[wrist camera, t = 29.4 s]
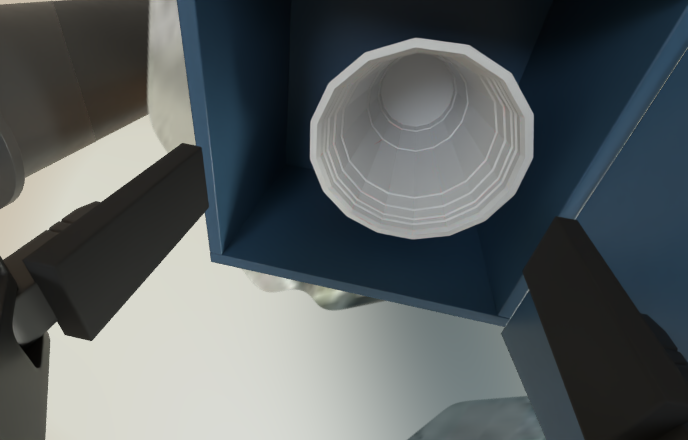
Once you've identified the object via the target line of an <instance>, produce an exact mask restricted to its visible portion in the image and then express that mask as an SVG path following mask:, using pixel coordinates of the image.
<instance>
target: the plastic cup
mask: <svg viewBox="0 0 688 440" xmlns="http://www.w3.org/2000/svg"><path fill="white" fill-rule="evenodd" d="M533 139H534V114H533V112H532V110H531V109H530V107H529V105H528V103H527V101H526V99H525V97H524V95H523V94H522V92H521V90H520V88H519V86H518V84H517V82H516V81H515V79H514V77H513V75H512V73H510V72H509V71H507V70H506V69H504V68H503V67H501V66H500V65H498V64H497V63H495V62H494V61H492V60H491V59H489V58H488V57H486V56H485V55H483V54H482V53H480V52H479V51H477V50H476V49H474V48H473V47H471V46H470V45H466V44H458V43H451V42H444V41H436V40H429V39H422V38H413V39H409V40H406V41H402V42H399V43H396V44H392V45H389V46H385V47H382V48H379V49H375V50H372V51H368V52H365V53H364V54H363V55H361V56H360V57H359V58H358V59H357V60H356V61H354V62H353V63H352V64H351V65H350V66H348V67H347V68H346V69H345V70H344V71H342V72H341V73H340V74H339V75H338V76H337V77H335V78H334V79H333V80H332V81H331V82H329V83H328V85H327V88H326V90H325V92H324V94H323V96H322V98H321V100H320V102H319V104H318V106H317V109H316V111H315V113H314V115H313V117H312V119H311V121H310V160H311V163H312V165H313V168H314V170H315V173H316V175H317V178H318V180H319V182H320V185H321V187H322V190H323V192H324V193H325V194H326V195H327V196H328V197H329V198H330V199H331V200H332V201H333V202H334V203H335V204H336V205H337V207H338V208H339V209H340V210H341V211H342V212H343V213H344V214H345V215H346V216H347V217H349V218H351V219H353V220H355V221H356V222H358V223H360V224H362V225H364V226H366V227H368V228H370V229H371V230H373V231H375V232H377V233H382V234H387V235H392V236H397V237H402V238H408V239H422V238H432V237H443V236H450V235H453V234H455V233H458V232H460V231H462V230H465V229H467V228H470V227H472V226H474V225H477V224H479V223H481V222H484V221H486V220H487V219H488V218H489V217H490V216H491V215H492V214H494V213H495V212H496V211H497V210H498V209H499V208H500V207H501V206H503V205H504V204H505V203H506V202H507V201H508V200H509V199H511V198H512V197H513V196H514V195H515V194H516V192H517V190H518V188H519V185H520V183H521V181H522V179H523V177H524V175H525V173H526V171H527V169H528V167H529V165H530V163H531V161H532V159H533Z"/></svg>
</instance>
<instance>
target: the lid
mask: <svg viewBox="0 0 688 440" xmlns="http://www.w3.org/2000/svg"><path fill="white" fill-rule="evenodd" d="M576 220H578V222H579V223H580V225H581V226H582V228H583V229H584V231H585V232H586V234H587V235H588V237H589V238H590V240H591V241H592V242H593V244H594V245H595V247H596V248H597V250H598V251H599V253H600V254H601V256H602V257H603V259H604V260H605V262H606V263H607V265H608V266H609V268H610V269H611V271H612V272H613V274H614V275H615V277H616V278H617V280H618V281H619V283H620V284H621V286H622V287H623V289H624V290H625V291H626V293H627V294H628V296H629V297H630V299H631V300H632V302H633V303H634V305H635V306H636V308H637V309H638V311H639V312H640V313H642V314H647V315H648V316H649V317H650V318H652V319H653V320H654V321H655V322H656V323H657V324H658V325H659V326H660V327H661V328H663V329H664V330H665V331H666V333H667V334H668V335H669V337H670V338H671V340H672V341H673V343H674V344H675V345H676V347H677V348H678V349H677V351H678V352H681V354H682V355H683V357H684V358H685V359H686V361H687V362H688V48H687V50H686V51H685V53H684V55H683V56H682V58H681V59H680V61H679V62H678V64H677V65H676V67H675V68H674V70H673V71H672V73H671V74H670V76H669V77H668V79H667V81H666V82H665V84H664V85H663V87H662V88H661V90H660V91H659V93H658V94H657V96H656V97H655V99H654V100H653V102H652V103H651V105H650V106H649V108H648V110H647V111H646V113H645V114H644V116H643V117H642V119H641V120H640V122H639V123H638V125H637V126H636V128H635V129H634V131H633V132H632V134H631V136H630V137H629V139H628V140H627V142H626V143H625V145H624V146H623V148H622V149H621V151H620V152H619V154H618V155H617V157H616V158H615V160H614V161H613V163H612V165H611V166H610V168H609V169H608V171H607V172H606V174H605V175H604V177H603V178H602V180H601V181H600V183H599V184H598V186H597V187H596V189H595V190H594V192H593V194H592V195H591V197H590V198H589V200H588V201H587V203H586V204H585V206H584V207H583V209H582V210H581V212H580V213H579V215H578V216H577V218H576ZM501 334H502V337H503V339H504V341H505V344H506V346H507V348H508V351H509V353H510V356H511V358H512V360H513V362H514V365H515V367H516V369H517V372H518V374H519V377H520V379H521V381H522V384H523V386H524V388H525V391H526V393H527V395H528V398H529V400H530V402H531V405H532V407H533V409H534V412H535V414H536V417H537V419H538V421H539V424H540V426H541V428H542V431H543V433H544V435H545V438H546V440H584V437H583V434H582V432H581V429H580V426H579V424H578V421H577V418H576V415H575V413H574V410H573V407H572V405H571V402H570V399H569V397H568V394H567V391H566V388H565V386H564V383H563V380H562V378H561V375H560V372H559V370H558V367H557V364H556V361H555V359H554V356H553V353H552V351H551V348H550V345H549V343H548V340H547V337H546V334H545V332H544V329H543V326H542V324H541V321H540V318H539V316H538V313H537V310H536V307H535V305H534V302H533V299H532V297H531V294H530V291H528V293H527V294H526V296H525V297H524V299H523V300H522V302H521V304H520V305H519V307H518V308H517V310H516V311H515V313H514V314H513V316H512V317H511V319H510V320H509V322H508V323H507V325H506V326H505V328H504V330H503V331H502V333H501Z"/></svg>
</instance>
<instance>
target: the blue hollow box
mask: <svg viewBox="0 0 688 440" xmlns="http://www.w3.org/2000/svg"><path fill="white" fill-rule="evenodd" d="M177 5H178V13H179V21H180V28H181V36H182V43H183V51H184V58H185V66H186V73H187V81H188V89H189V96H190V104H191V111H192V119H193V126H194V134H195V141H196V146H200V147H202V153H203V161H204V169H205V177H206V186H207V194H208V202H209V208H208V209H207V210H206V211H205V217H206V224H207V231H208V240H209V247H210V256H211V262H215V263H219V264H224V265H229V266H233V267H237V268H242V269H246V270H251V271H255V272H260V273H264V274H269V275H273V276H278V277H282V278H287V279H291V280H296V281H300V282H305V283H309V284H314V285H318V286H323V287H327V288H332V289H336V290H341V291H345V292H350V293H354V294H359V295H363V296H368V297H372V298H377V299H381V300H386V301H390V302H395V303H400V304H404V305H408V306H413V307H417V308H422V309H427V310H431V311H436V312H440V313H444V314H449V315H453V316H458V317H462V318H467V319H472V320H476V321H481V322H485V323H489V324H494V325H498V326H503V327H505V326H506V325H507V323H508V322H509V320H510V318H511V317H512V315H513V314H514V312H515V311H516V309H517V308H518V306H519V305H520V303H521V302H522V300H523V298H524V297H525V295H526V294H527V292H528V291H529V289H528V286H527V283H526V281H525V278H524V275H523V272H522V270H523V269H524V267H525V266H526V264H527V262H528V261H529V259H530V257H531V256H532V254H533V252H534V251H535V249H536V247H537V246H538V244H539V242H540V241H541V239H542V238H543V236H544V234H545V233H546V231H547V229H548V228H549V226H550V224H551V223H552V221H553V219H554V218H555V216H558V217H563V218H568V219H574V220H575V219H576V217H577V216H578V214H579V213H580V211H581V210H582V208H583V207H584V205H585V204H586V202H587V201H588V199H589V198H590V196H591V194H592V193H593V191H594V190H595V188H596V187H597V185H598V184H599V182H600V181H601V179H602V178H603V176H604V175H605V173H606V172H607V170H608V168H609V167H610V165H611V164H612V162H613V161H614V159H615V158H616V156H617V155H618V153H619V152H620V150H621V149H622V147H623V146H624V144H625V142H626V141H627V139H628V138H629V136H630V135H631V133H632V132H633V130H634V129H635V127H636V126H637V124H638V123H639V121H640V120H641V118H642V117H643V115H644V113H645V112H646V110H647V109H648V107H649V106H650V104H651V103H652V101H653V100H654V98H655V97H656V95H657V94H658V92H659V91H660V89H661V87H662V86H663V84H664V83H665V81H666V80H667V78H668V77H669V75H670V74H671V72H672V71H673V69H674V68H675V66H676V65H677V63H678V61H679V60H680V58H681V57H682V55H683V54H684V52H685V51H686V49H687V48H688V0H177ZM413 38H422V39H429V40H436V41H444V42H451V43H458V44H466V45H470V46H471V47H473V48H474V49H476V50H477V51H479V52H480V53H482V54H483V55H485V56H486V57H488V58H489V59H491V60H492V61H494V62H495V63H497V64H498V65H500V66H501V67H503V68H504V69H506V70H507V71H509V72H510V73H512V75H513V77H514V79H515V81H516V82H517V84H518V86H519V88H520V90H521V92H522V94H523V95H524V97H525V99H526V101H527V103H528V105H529V107H530V109H531V110H532V112H533V114H534V139H533V159H532V161H531V163H530V165H529V167H528V169H527V171H526V173H525V175H524V177H523V179H522V181H521V183H520V185H519V188H518V190H517V192H516V194H515V195H514V196H513V197H512V198H511V199H509V200H508V201H507V202H506V203H505V204H504V205H503V206H501V207H500V208H499V209H498V210H497V211H496V212H495V213H494V214H492V215H491V216H490V217H489V218H488V219H487V220H486V221H484V222H481V223H479V224H477V225H474V226H472V227H470V228H467V229H465V230H462V231H460V232H458V233H455V234H453V235H450V236H443V237H432V238H422V239H408V238H402V237H397V236H392V235H387V234H382V233H377V232H375V231H373V230H371V229H370V228H368V227H366V226H364V225H362V224H360V223H358V222H356V221H355V220H353V219H351V218H349V217H347V216H346V215H345V214H344V213H343V212H342V211H341V210H340V209H339V208H338V207H337V205H336V204H335V203H334V202H333V201H332V200H331V199H330V198H329V197H328V196H327V195H326V194H325V193H324V192H323V190H322V187H321V185H320V182H319V180H318V178H317V175H316V173H315V170H314V168H313V165H312V163H311V160H310V121H311V119H312V117H313V115H314V113H315V111H316V109H317V106H318V104H319V102H320V100H321V98H322V96H323V94H324V92H325V90H326V88H327V85H328V83H329V82H331V81H332V80H333V79H334V78H335V77H337V76H338V75H339V74H340V73H341V72H342V71H344V70H345V69H346V68H347V67H348V66H350V65H351V64H352V63H353V62H354V61H356V60H357V59H358V58H359V57H360V56H361V55H363V54H364V53H365V52H368V51H372V50H375V49H379V48H382V47H385V46H389V45H392V44H396V43H399V42H402V41H406V40H409V39H413Z"/></svg>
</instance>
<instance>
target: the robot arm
mask: <svg viewBox="0 0 688 440" xmlns="http://www.w3.org/2000/svg"><path fill="white" fill-rule="evenodd" d="M208 208H209V202H208V194H207V186H206V177H205V169H204V161H203V153H202V147H200V146H194V145H189V144H184V143H182V144H180V145H179V146H178V147H176V148H175V149H174V150H172V151H171V152H169V153H168V154H167V155H165V156H164V157H163V158H161V159H160V160H159V161H157V162H156V163H155V164H153V165H152V166H150V167H149V168H147V169H146V170H145V171H143V172H142V173H141V174H139V175H138V176H137V177H135V178H134V179H132V180H131V181H130V182H128V183H127V184H126V185H124V186H123V187H121V188H120V189H119V190H117V191H116V192H115V193H113V194H112V195H110V196H109V197H108V198H106V199H105V200H104V201H102V202H97V201H95V202H93V203H91V204H88V205H86V206H83V207H80V208H78V209H76V210H74V211H73V212H72V213H70V214H69V215H67V216H66V217H64V218H63V219H62V221H61V222H57V223H56V224H54V225H53V226H51V227H50V228H49V230H46V231H44V232H43V233H41V234H40V235H39V236H37V237H36V238H34V239H33V240H31V241H30V242H28V243H27V244H26V245H24V246H23V247H21V248H20V249H18V250H17V251H16V252H14V253H13V254H11V255H10V256H9V257H7V258H5V259H4V260H2V258H1V256H0V440H45V432H46V412H47V411H46V410H47V393H48V373H49V354H50V338H49V334H48V332H47V330H48V329H49V328H50V327H51V326H52V325H54V323H56V322H58V324H59V325H60V327H61V329H62V330H63V332H64V334H65V335H68V336H72V337H76V338H81V339H85V340H90V341H92V340H93V339H94V338H95V337H96V336H97V334H98V333H99V332H100V331H101V330H102V329H103V328H104V326H105V325H106V324H107V323H108V322H109V321H110V320H111V318H112V317H113V316H114V315H115V314H116V313H117V312H118V310H119V309H120V308H121V307H122V306H123V305H124V304H125V303H126V301H127V300H128V299H129V298H130V297H131V295H133V293H134V292H135V291H136V290H137V289H138V287H140V285H141V284H142V283H143V282H144V281H145V280H146V278H147V277H148V276H149V275H150V274H151V273H152V272H153V270H154V269H155V268H156V267H157V266H158V265H159V264H160V263H161V261H162V260H163V259H164V258H165V257H166V256H167V255H168V253H169V252H170V251H171V250H172V249H173V248H174V247H175V246H176V244H177V243H178V242H179V241H180V240H181V238H183V236H184V235H185V234H186V233H187V232H188V230H189V229H190V228H191V227H192V226H193V225H194V224H195V222H197V220H198V219H199V218H200V217H201V216H202V215H203V214H204V212H205V211H206V210H207V209H208ZM522 272H523V275H524V278H525V281H526V283H527V286H528V289H529V291H530V294H531V297H532V299H533V302H534V305H535V307H536V310H537V313H538V316H539V318H540V321H541V324H542V326H543V329H544V332H545V334H546V337H547V340H548V343H549V345H550V348H551V351H552V353H553V356H554V359H555V361H556V364H557V367H558V370H559V372H560V375H561V378H562V380H563V383H564V386H565V388H566V391H567V394H568V397H569V399H570V402H571V405H572V407H573V410H574V413H575V415H576V418H577V421H578V424H579V426H580V429H581V432H582V434H583V437H584V440H688V362H687V361H686V359H685V358H684V357H683V355H682V354H681V352H678V351H677V349H678V348H677V347H676V345H675V344H674V343H673V341H672V340H671V338H670V337H669V335H668V334H667V333H666V331H665V330H664V329H663V328H661V327H660V326H659V325H658V324H657V323H656V322H655V321H654V320H653V319H652V318H650V317H649V316H648V315H647V314H642V313H640V312H639V311H638V309H637V308H636V306H635V305H634V303H633V302H632V300H631V299H630V297H629V296H628V294H627V293H626V291H625V290H624V289H623V287H622V286H621V284H620V283H619V281H618V280H617V278H616V277H615V275H614V274H613V272H612V271H611V269H610V268H609V266H608V265H607V263H606V262H605V260H604V259H603V257H602V256H601V254H600V253H599V251H598V250H597V248H596V247H595V245H594V244H593V242H592V241H591V240H590V238H589V237H588V235H587V234H586V232H585V231H584V229H583V228H582V226H581V225H580V223H579V222H578V220H574V219H568V218H563V217H558V216H555V218H554V219H553V221H552V223H551V224H550V226H549V228H548V229H547V231H546V233H545V234H544V236H543V238H542V239H541V241H540V242H539V244H538V246H537V247H536V249H535V251H534V252H533V254H532V256H531V257H530V259H529V261H528V262H527V264H526V266H525V267H524V269H523V270H522Z"/></svg>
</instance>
